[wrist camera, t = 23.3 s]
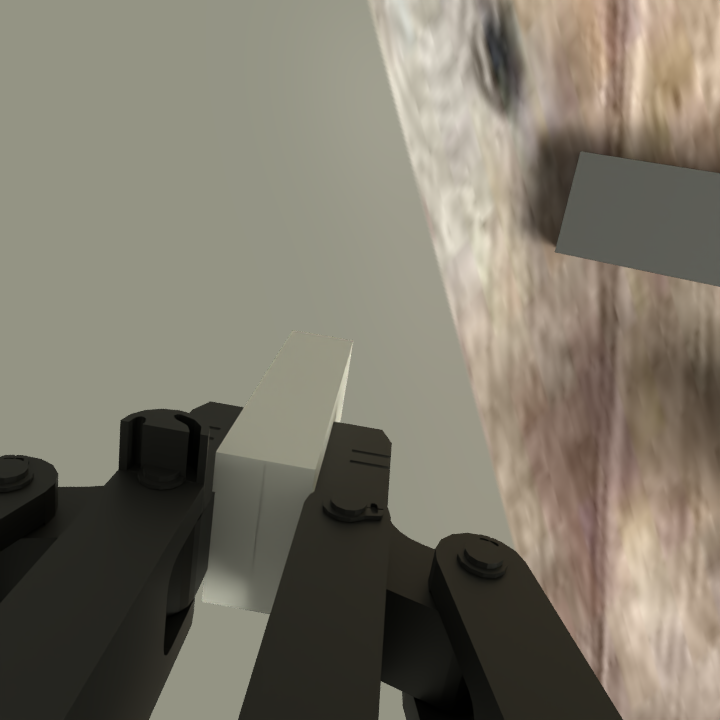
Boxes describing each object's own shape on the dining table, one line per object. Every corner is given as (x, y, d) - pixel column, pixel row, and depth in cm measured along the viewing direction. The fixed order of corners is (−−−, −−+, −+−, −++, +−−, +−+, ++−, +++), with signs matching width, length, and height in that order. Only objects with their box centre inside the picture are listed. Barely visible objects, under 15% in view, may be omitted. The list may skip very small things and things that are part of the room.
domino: (559, 248, 42) (764, 290, 38) (554, 252, 40) (771, 297, 36) (583, 152, 40) (802, 187, 37) (580, 151, 38) (812, 187, 34)
